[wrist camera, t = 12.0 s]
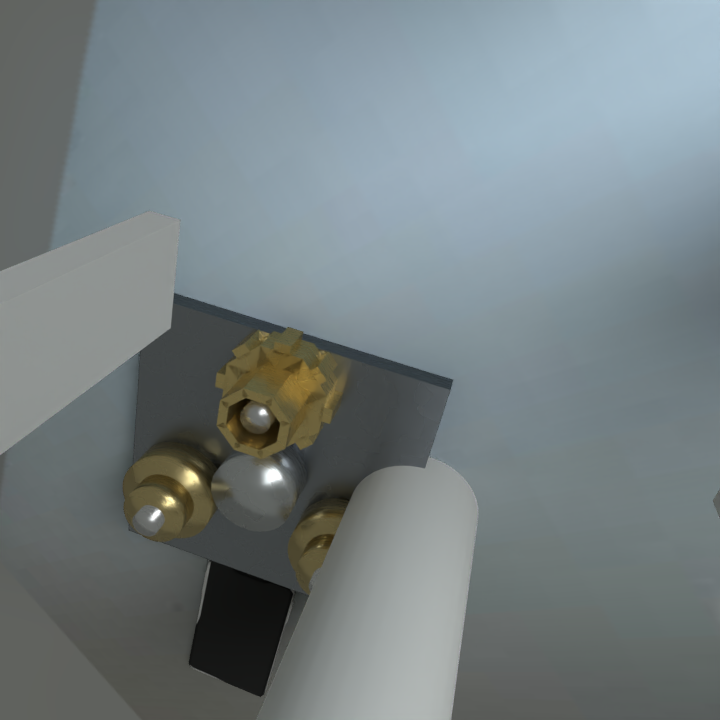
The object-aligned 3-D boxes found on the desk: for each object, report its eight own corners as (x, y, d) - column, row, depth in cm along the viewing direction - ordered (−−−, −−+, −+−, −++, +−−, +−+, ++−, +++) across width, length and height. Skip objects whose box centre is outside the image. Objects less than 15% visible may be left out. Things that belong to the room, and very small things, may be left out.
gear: (238, 311, 44) (198, 346, 39) (353, 347, 43) (328, 388, 38) (224, 412, 48) (185, 456, 43) (330, 447, 47) (303, 497, 42)
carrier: (155, 287, 47) (97, 323, 41) (453, 380, 44) (439, 433, 38) (138, 519, 57) (89, 575, 51) (379, 605, 54) (359, 676, 48)
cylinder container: (384, 563, 53) (229, 1069, 27) (336, 467, 50) (109, 926, 24) (496, 541, 49) (446, 1102, 23) (451, 437, 47) (335, 937, 20)
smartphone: (186, 666, 63) (207, 556, 56) (192, 656, 64) (214, 546, 57) (264, 698, 62) (295, 591, 55) (268, 687, 63) (300, 580, 56)
